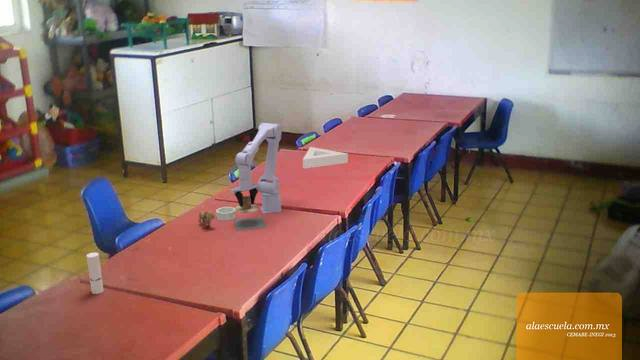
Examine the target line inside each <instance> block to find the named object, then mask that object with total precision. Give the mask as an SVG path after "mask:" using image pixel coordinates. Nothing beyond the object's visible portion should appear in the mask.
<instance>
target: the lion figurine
mask: <svg viewBox="0 0 640 360" xmlns="http://www.w3.org/2000/svg"><path fill="white" fill-rule="evenodd" d="M215 218H216V215H215V214H213V213H212V211H211V210H208V211H205V210H201V211H199V214H198V222H199V224H198V226H202V224H203V230H204V229H205V230H207V228H211V227H212V226H211V223H212V221H213V220H215ZM206 224H207V225H206Z"/></svg>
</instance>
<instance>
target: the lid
mask: <svg viewBox="0 0 640 360" xmlns="http://www.w3.org/2000/svg"><path fill="white" fill-rule="evenodd" d="M234 208H235V212H237V213H239V214H250V213H254V212H257V211H258V210H259V209H260V208H259V205H257V204H255V203H254V205H252V204H251V197H250V195H245V196H244V195H243V207H240V206H239V205H237V206H235V207H234Z"/></svg>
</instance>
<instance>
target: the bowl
mask: <svg viewBox="0 0 640 360" xmlns="http://www.w3.org/2000/svg"><path fill="white" fill-rule="evenodd" d="M215 211H216V215H215V216H216V219H217V220H218V221H222V222H224V221H225V222H226V221H232V220H235V219H236V218H237V215H236V212H237V211H236V210H235V207H232V206H222V207H219V208H217V209H216V210H215Z"/></svg>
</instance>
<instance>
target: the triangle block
mask: <svg viewBox="0 0 640 360" xmlns="http://www.w3.org/2000/svg"><path fill="white" fill-rule="evenodd" d="M347 163H349V153H347V152H346V153H345V152H340V151H335V150H330V149H324V148H320V147H319V148H318V147H313V146H309V148H308V150H307V151H306V154H304V156H303V158H302V169H303V168H304V169H310V168H311V167H312V168H319V167H325V166H331V165H332V166H333V165H340V164H347Z"/></svg>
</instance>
